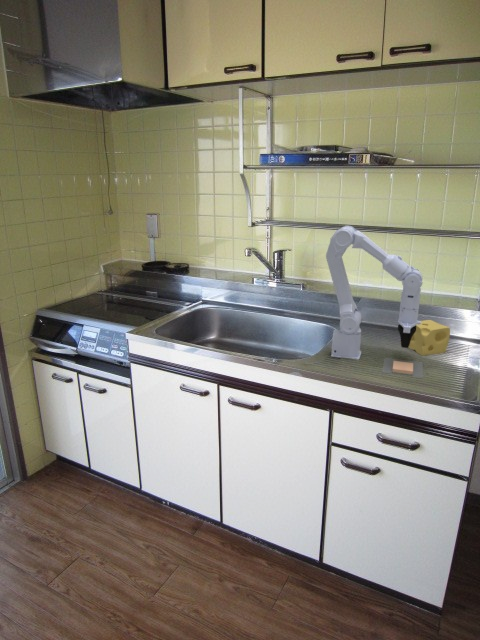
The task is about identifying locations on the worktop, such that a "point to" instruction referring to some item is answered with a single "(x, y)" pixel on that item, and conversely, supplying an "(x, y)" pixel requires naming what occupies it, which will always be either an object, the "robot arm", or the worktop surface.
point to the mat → (416, 365)
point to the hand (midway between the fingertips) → (404, 346)
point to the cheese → (430, 338)
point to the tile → (402, 368)
